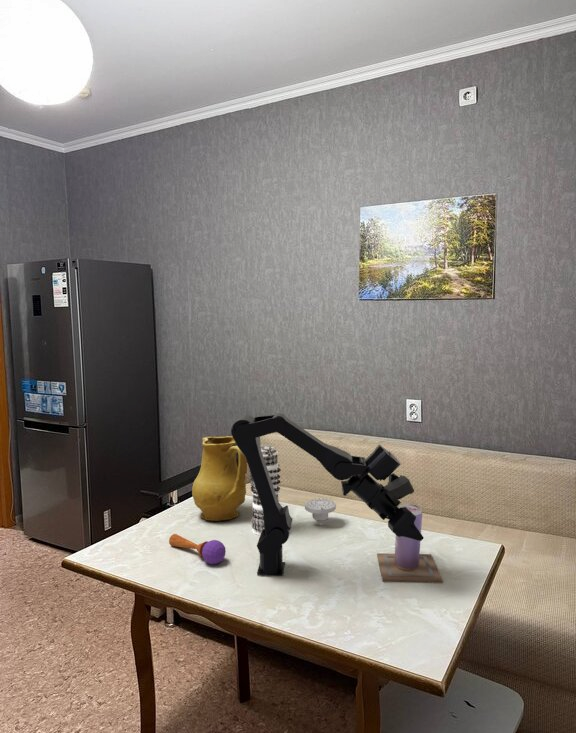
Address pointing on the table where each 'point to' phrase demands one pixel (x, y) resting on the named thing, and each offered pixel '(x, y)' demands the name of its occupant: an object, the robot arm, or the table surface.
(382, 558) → the plate
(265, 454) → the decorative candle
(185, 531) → the table surface
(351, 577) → the table surface
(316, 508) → the showerhead
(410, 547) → the beverage can
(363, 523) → the table surface
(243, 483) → the pitcher
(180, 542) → the purple ball maraca
